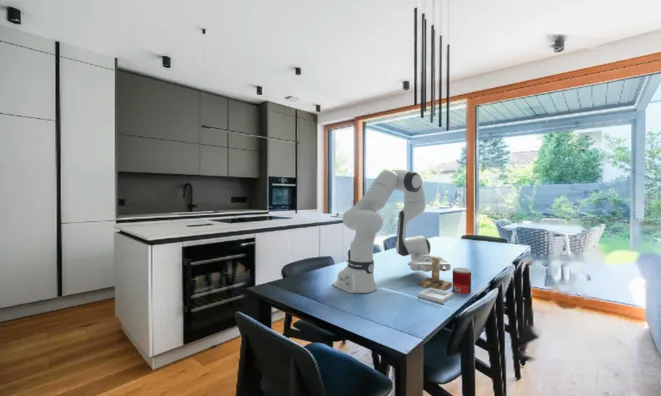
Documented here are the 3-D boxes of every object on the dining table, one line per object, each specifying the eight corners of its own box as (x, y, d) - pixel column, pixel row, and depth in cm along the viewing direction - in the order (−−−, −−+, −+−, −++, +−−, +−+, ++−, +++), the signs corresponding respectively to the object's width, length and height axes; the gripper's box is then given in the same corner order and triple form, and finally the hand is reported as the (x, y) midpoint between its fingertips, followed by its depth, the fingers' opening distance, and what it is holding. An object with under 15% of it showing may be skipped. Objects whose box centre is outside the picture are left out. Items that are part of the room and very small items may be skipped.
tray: (418, 298, 133) (418, 292, 133) (430, 292, 141) (430, 287, 141) (442, 305, 125) (442, 299, 125) (453, 298, 133) (453, 293, 133)
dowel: (430, 285, 148) (430, 257, 147) (433, 284, 150) (433, 256, 150) (437, 287, 145) (437, 258, 145) (440, 285, 148) (440, 257, 147)
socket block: (419, 287, 148) (419, 277, 148) (428, 282, 155) (429, 273, 155) (442, 293, 140) (442, 282, 140) (451, 288, 147) (451, 278, 147)
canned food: (472, 296, 136) (473, 272, 136) (454, 295, 138) (454, 271, 137) (468, 290, 143) (468, 268, 143) (451, 289, 145) (451, 267, 145)
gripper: (406, 257, 161) (414, 263, 147) (444, 257, 162) (455, 263, 148) (406, 268, 161) (414, 276, 147) (443, 268, 162) (455, 275, 148)
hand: (435, 269), depth 148 cm, fingers open, 8 cm apart
